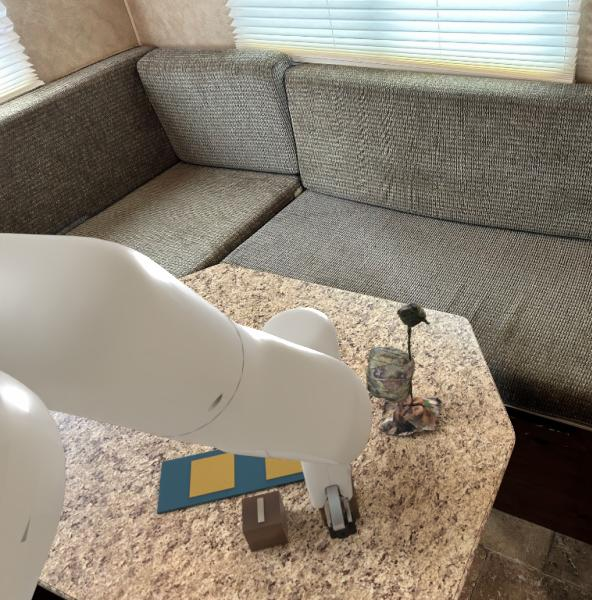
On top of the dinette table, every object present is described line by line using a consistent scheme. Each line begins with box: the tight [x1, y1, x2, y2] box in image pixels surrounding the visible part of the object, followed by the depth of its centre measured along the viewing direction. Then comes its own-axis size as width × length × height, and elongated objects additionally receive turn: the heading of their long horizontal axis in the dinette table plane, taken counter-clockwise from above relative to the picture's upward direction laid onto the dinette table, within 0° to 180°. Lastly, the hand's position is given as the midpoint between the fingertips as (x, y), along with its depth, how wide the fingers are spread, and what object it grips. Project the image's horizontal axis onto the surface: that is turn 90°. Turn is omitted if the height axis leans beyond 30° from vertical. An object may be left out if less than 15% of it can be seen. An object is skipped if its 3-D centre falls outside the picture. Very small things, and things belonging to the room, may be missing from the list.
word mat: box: [156, 449, 305, 515], centre depth 82 cm, size 8×24×1 cm, turn 102°
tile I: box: [241, 489, 290, 552], centre depth 73 cm, size 4×4×5 cm
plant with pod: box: [365, 301, 443, 437], centre depth 81 cm, size 8×11×20 cm
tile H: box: [318, 468, 361, 527], centre depth 75 cm, size 4×4×5 cm
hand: (338, 498), depth 76 cm, fingers open, 9 cm apart
